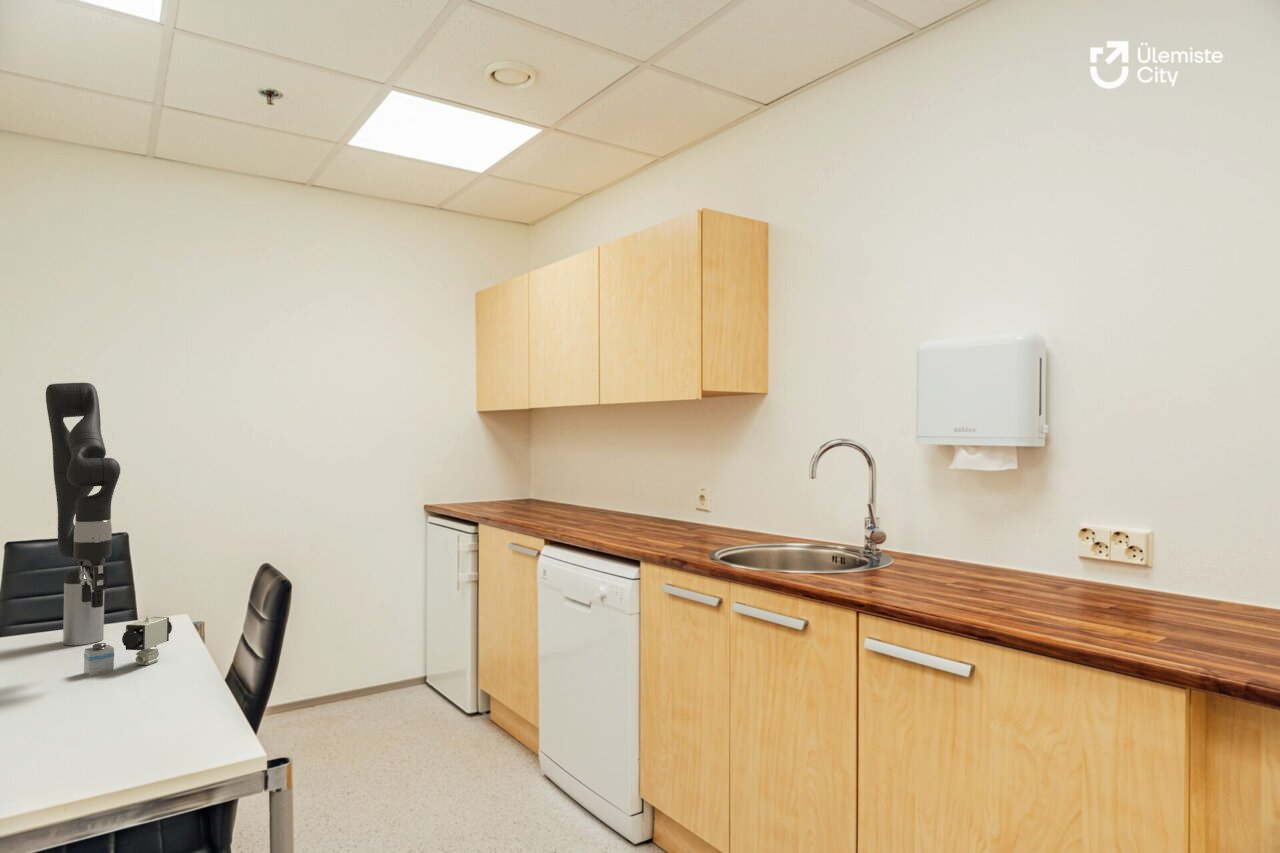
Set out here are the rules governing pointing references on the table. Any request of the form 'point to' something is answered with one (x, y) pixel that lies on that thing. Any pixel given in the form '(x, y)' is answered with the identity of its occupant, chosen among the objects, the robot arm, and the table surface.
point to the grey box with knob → (99, 660)
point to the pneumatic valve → (147, 638)
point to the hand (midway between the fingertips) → (92, 604)
